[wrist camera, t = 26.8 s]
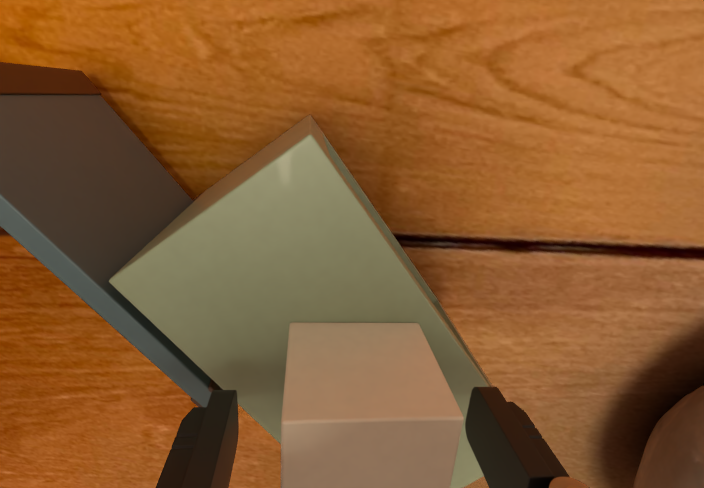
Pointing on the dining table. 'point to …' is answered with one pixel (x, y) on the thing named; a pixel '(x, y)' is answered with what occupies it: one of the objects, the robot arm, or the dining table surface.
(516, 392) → the dining table surface
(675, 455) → the pot
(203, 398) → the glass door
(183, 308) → the cabinet
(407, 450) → the block
